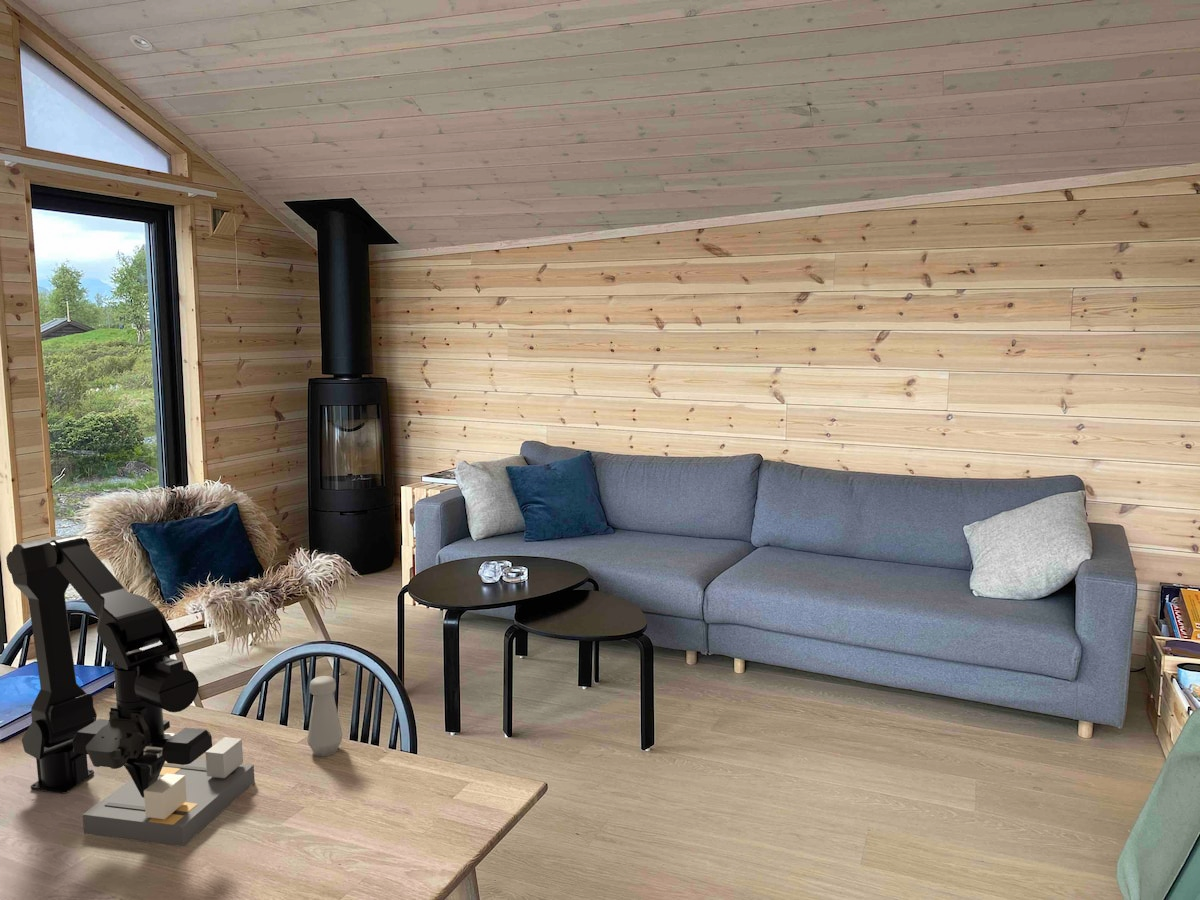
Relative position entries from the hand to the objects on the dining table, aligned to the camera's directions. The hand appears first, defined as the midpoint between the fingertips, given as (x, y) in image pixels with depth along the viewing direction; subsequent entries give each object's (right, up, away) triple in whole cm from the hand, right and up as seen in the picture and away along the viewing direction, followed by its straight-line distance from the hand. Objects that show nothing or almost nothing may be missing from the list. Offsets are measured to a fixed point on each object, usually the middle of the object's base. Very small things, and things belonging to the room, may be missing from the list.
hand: (146, 796), depth 133 cm
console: (+1, -4, +7) cm, 8 cm away
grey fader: (+7, 0, +11) cm, 13 cm away
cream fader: (+3, -2, 0) cm, 3 cm away
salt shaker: (+19, -2, +24) cm, 31 cm away
